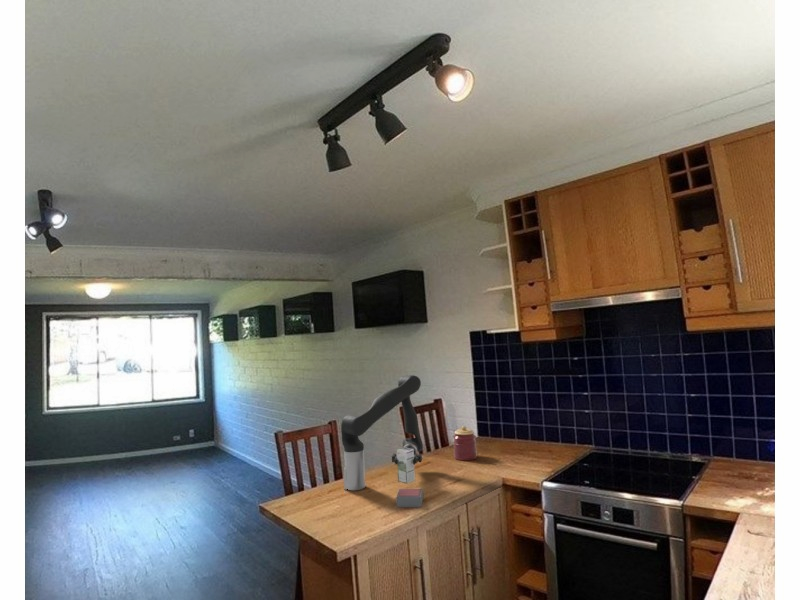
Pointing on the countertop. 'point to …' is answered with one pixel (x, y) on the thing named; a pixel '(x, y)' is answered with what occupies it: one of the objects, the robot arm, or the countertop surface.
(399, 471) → the syrup box
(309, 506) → the countertop surface
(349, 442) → the robot arm
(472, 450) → the canister
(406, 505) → the display plinth
